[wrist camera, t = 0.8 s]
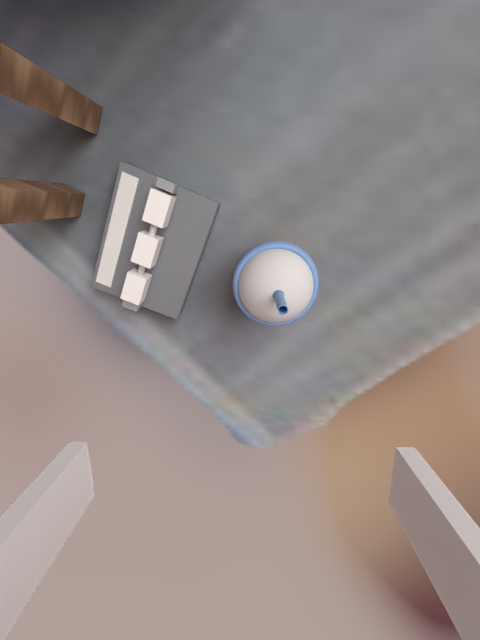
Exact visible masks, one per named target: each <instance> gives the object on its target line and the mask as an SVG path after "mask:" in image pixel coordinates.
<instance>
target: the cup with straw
mask: <svg viewBox="0 0 480 640" xmlns="http://www.w3.org/2000/svg"><path fill="white" fill-rule="evenodd" d="M318 286H319V278H318V272H317V269H316V266H315V264H314V262H313V260H312V259H311V258H310V256H309V255H308V254H307V253H306V252H305V251H304V250H302V249H301V248H299V247H298V246H296V245H294V244H291V243H288V242H282V241H271V242H266V243H262V244H260V245H258V246H256V247H254V248H252V249H251V250H249V251H248V252H247V253H246V254H245V255H244V256H243V257H242V258H241V260H240V261H239V263H238V265H237V267H236V269H235V272H234V275H233V282H232V287H233V294H234V297H235V300H236V302H237V304H238V306H239V308H240V309H241V310H242V311H243V313H244V314H245V315H247V316H248V317H249V318H251V319H252V320H254V321H256V322H258V323H261V324H264V325H270V326H278V325H284V324H288V323H291V322H293V321H295V320H297V319H299V318H300V317H301V316H303V315H304V314H305V313H306V312H307V311H308V310H309V309H310V307H311V306H312V304H313V302H314V301H315V298H316V296H317V292H318Z"/></svg>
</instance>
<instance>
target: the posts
mask: <svg viewBox="0 0 480 640" xmlns="http://www.w3.org/2000/svg"><path fill="white" fill-rule="evenodd" d="M0 93H2V94H4V95H6V96H9V97H11V98H13V99H15V100H18V101H20V102H22V103H25V104H27V105H29V106H31V107H34V108H36V109H38V110H41V111H43V112H45V113H48V114H50V115H52V116H54V117H57V118H59V119H61V120H64V121H66V122H68V123H71V124H73V125H75V126H77V127H80V128H82V129H84V130H87V131H89V132H91V133H94V134H96V135H97V133H98V128H99V123H100V118H101V113H102V108H103V107H101V106H100V105H98V104H96V103H95V102H93V101H92V100H90V99H89V98H87V97H85V96H84V95H82V94H81V93H79V92H78V91H76V90H75V89H73V88H71V87H70V86H68V85H67V84H65V83H64V82H62V81H60V80H59V79H57V78H56V77H54V76H53V75H51V74H50V73H48V72H46V71H45V70H43V69H42V68H40V67H39V66H37V65H35V64H34V63H32V62H31V61H29V60H28V59H26V58H25V57H23V56H21V55H20V54H18V53H17V52H15V51H14V50H12V49H10V48H9V47H7V46H6V45H4V44H3V43H1V41H0ZM84 196H85V193H82V192H80V191H78V190H75V189H73V188H70V187H68V186H66V185H63V184H58V183H47V182H36V181H25V180H14V179H4V178H0V224H4V223H15V222H26V221H37V220H48V219H59V218H70V217H80V216H81V211H82V206H83V201H84Z"/></svg>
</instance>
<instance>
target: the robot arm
mask: <svg viewBox="0 0 480 640" xmlns="http://www.w3.org/2000/svg"><path fill="white" fill-rule="evenodd" d="M94 496H95V494H94V487H93V480H92V473H91V466H90V459H89V452H88V446H87V442H69V443H68V444H67V445H66V447H65V448H64V449H63V450H62V451H61V452H60V453H59V454H58V455H57V456H56V457H55V458H54V459H53V461H52V462H51V463H50V464H49V465H48V466H47V467H46V468H45V469H44V470H43V471H42V472H41V474H40V475H39V476H38V477H37V478H36V479H35V480H34V481H33V482H32V483H31V485H29V486H28V488H27V489H26V490H25V491H24V492H23V493H22V494H21V495H20V496H19V497H18V498H17V500H16V501H15V502H14V503H13V504H12V505H11V506H10V507H9V508H8V509H7V510H6V511H5V512H4V514H3V515H2V516H1V517H0V640H4V639H5V638H6V636H7V634H8V633H9V631H10V630H11V628H12V626H13V625H14V623H15V622H16V620H17V619H18V617H19V615H20V614H21V612H22V611H23V609H24V607H25V606H26V604H27V603H28V601H29V599H30V598H31V596H32V594H33V593H34V591H35V590H36V588H37V587H38V585H39V583H40V582H41V580H42V579H43V577H44V575H45V574H46V572H47V571H48V569H49V568H50V566H51V564H52V563H53V561H54V559H55V558H56V556H57V555H58V553H59V551H60V550H61V548H62V547H63V545H64V544H65V542H66V540H67V539H68V537H69V536H70V534H71V532H72V531H73V529H74V527H75V526H76V524H77V523H78V521H79V520H80V518H81V516H82V515H83V513H84V512H85V510H86V509H87V507H88V505H89V504H90V502H91V500H92V499H93V497H94ZM389 503H390V505H391V507H392V509H393V511H394V513H395V514H396V516H397V518H398V520H399V522H400V524H401V526H402V528H403V530H404V531H405V533H406V535H407V537H408V539H409V541H410V543H411V545H412V546H413V548H414V550H415V552H416V554H417V556H418V557H419V560H420V561H421V563H422V565H423V567H424V569H425V571H426V573H427V575H428V576H429V578H430V580H431V582H432V584H433V586H434V588H435V590H436V591H437V593H438V595H439V597H440V599H441V601H442V603H443V604H444V607H445V608H446V610H447V612H448V614H449V616H450V618H451V620H452V622H453V623H454V625H455V627H456V629H457V631H458V633H459V635H460V637H461V638H462V640H480V528H479V527H478V526H477V524H476V523H475V522H474V521H473V519H472V518H471V517H470V516H469V515H468V513H467V512H466V511H465V509H464V508H463V507H462V506H461V504H460V503H459V502H458V501H457V499H456V498H455V497H454V496H453V494H452V493H451V492H450V491H449V490H448V488H447V487H446V486H445V485H444V483H443V482H442V481H441V480H440V479H439V477H438V476H437V475H436V474H435V472H434V471H433V470H432V468H431V467H430V466H429V465H428V463H427V462H426V461H425V460H424V458H423V457H422V456H421V455H420V453H419V452H418V451H417V450H416V448H415V447H396V450H395V458H394V466H393V474H392V481H391V489H390V497H389Z"/></svg>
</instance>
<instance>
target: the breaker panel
mask: <svg viewBox="0 0 480 640" xmlns="http://www.w3.org/2000/svg"><path fill="white" fill-rule="evenodd" d="M151 188H156V189H159V190H161V191H164V192H166V193H168V194H170V195H173V196H175V197H176V201H175V204H174V207H173V210H172V213H171V217H170V220H169V223H168V226H167V227H165V228H160V227H158V228H157V231H156V235H158V236H161V237H163V238H164V239H163V243H162V246H161V249H160V252H159V256H158V259H157V262H156V265H155V266H153V267H152V268H150V269H149V268H145V272H146V273H149V274H151V275H152V278H151V282H150V285H149V288H148V291H147V294H146V298H145V300H144V301H143V302H142V303H141V304H140V305H139V306H138V305H136V304H133V303H131V302H128V301H125V300H123V303H122V307H125V308H128V309H130V310H133V311H136V312H137V311H138V310H139V309H140V308H141V307H142V306H143V307H145V308H148V309H150V310H153V311H156V312H158V313H161V314H163V315H166V316H169V317H171V318H174V319H178V318H179V316H180V314H181V313H182V310H183V307H184V304H185V302H186V299H187V296H188V293H189V291H190V288H191V285H192V282H193V280H194V277H195V274H196V271H197V269H198V266H199V263H200V260H201V257H202V255H203V252H204V249H205V246H206V244H207V241H208V238H209V235H210V233H211V230H212V227H213V224H214V222H215V219H216V216H217V213H218V210H219V208H220V205H221V203H219V202H217V201H214V200H212V199H210V198H207V197H205V196H203V195H201V194H198V193H196V192H194V191H191V190H189V189H187V188H184V187H182V186H180V185H178V184H175V183H173V182H171V181H168V180H166V179H164V178H162V177H159V176H157V175H155V174H152V173H150V172H148V171H145V170H143V169H141V168H139V167H136V166H134V165H132V164H129V163H126V162H123V161H120V166H119V170H118V174H117V178H116V182H115V187H114V191H113V195H112V199H111V204H110V208H109V212H108V216H107V221H106V225H105V229H104V233H103V238H102V242H101V246H100V250H99V255H98V259H97V263H96V267H95V272H94V276H93V280H92V284H91V287H93V288H96V289H98V290H101V291H103V292H106V293H109V294H111V295H114V296H116V297H119V298H120V297H121V293H122V290H123V286H124V283H125V279H126V275H127V272H128V271H130V270H132V269H133V268H136V269H138V268H139V264H136V263H134V262H131V257H132V254H133V250H134V246H135V243H136V239H137V236H138V232H140V231H144V230H146V231H149V230H150V226H151V224H150V223H148V222H145V221H143V220H142V217H143V214H144V210H145V207H146V203H147V199H148V196H149V192H150V189H151Z"/></svg>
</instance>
